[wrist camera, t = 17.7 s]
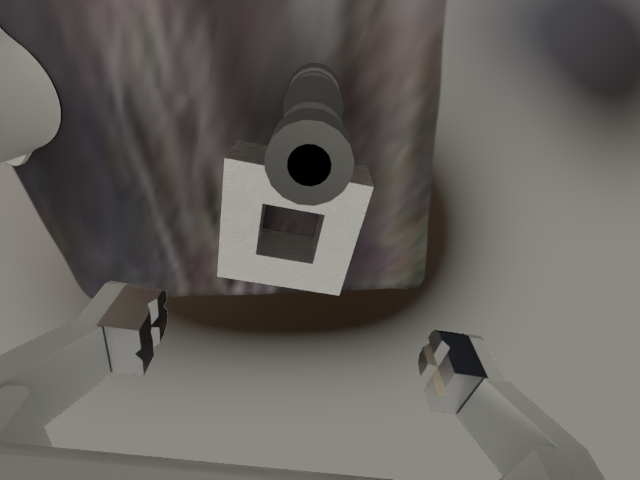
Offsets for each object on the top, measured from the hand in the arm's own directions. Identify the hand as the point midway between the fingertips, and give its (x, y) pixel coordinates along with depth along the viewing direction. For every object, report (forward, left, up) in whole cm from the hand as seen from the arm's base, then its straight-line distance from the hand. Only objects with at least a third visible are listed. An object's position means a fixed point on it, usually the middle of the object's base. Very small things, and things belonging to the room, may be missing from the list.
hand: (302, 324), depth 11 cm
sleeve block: (0, -17, -38) cm, 42 cm away
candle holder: (0, 0, -38) cm, 39 cm away
